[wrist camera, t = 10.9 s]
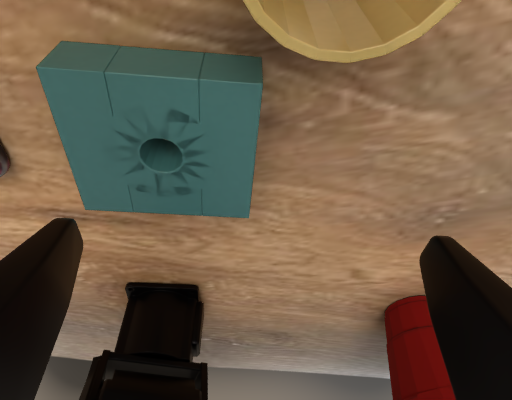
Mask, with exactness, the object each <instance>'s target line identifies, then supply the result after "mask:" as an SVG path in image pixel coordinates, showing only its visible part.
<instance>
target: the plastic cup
mask: <svg viewBox="0 0 512 400" xmlns="http://www.w3.org/2000/svg"><path fill="white" fill-rule="evenodd" d="M385 328H386V337H387V354H388V362H389V371H390V379H391V387H392V395H393V400H456V398H455V395H454V392H453V389H452V386H451V382H450V379H449V376H448V373H447V370H446V366H445V363H444V360H443V357H442V354H441V350H440V347H439V344H438V341H437V338H436V334H435V331H434V328H433V325H432V321H431V318H430V314H429V309H428V304H427V299H426V296H414V297H408V298H405V299H402V300H399V301H396V302H395V303H393V304H392V305H390V306H389V307H388V308H387V310H386V311H385Z"/></svg>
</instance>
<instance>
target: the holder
mask: <svg viewBox="0 0 512 400" xmlns="http://www.w3.org/2000/svg"><path fill="white" fill-rule="evenodd" d="M36 69H37V72H38V75H39V77H40V80H41V83H42V86H43V89H44V92H45V95H46V98H47V101H48V103H49V106H50V109H51V112H52V115H53V118H54V121H55V124H56V126H57V129H58V132H59V135H60V138H61V141H62V144H63V147H64V150H65V152H66V155H67V158H68V161H69V164H70V167H71V170H72V173H73V175H74V178H75V181H76V184H77V187H78V190H79V193H80V196H81V199H82V201H83V204H84V207H85V210H100V211H120V212H141V213H160V214H179V215H199V216H202V215H203V216H217V217H236V218H249V213H250V204H251V194H252V184H253V175H254V165H255V156H256V146H257V137H258V127H259V118H260V108H261V99H262V89H263V75H262V58H261V57H254V56H241V55H229V54H217V53H205V54H204V53H202V52H189V51H177V50H165V49H152V48H140V47H127V46H118V45H105V44H93V43H81V42H68V41H61V42H60V43H59V44H58V45H57V46H56V47H55V48H54V49H53V50H52V51H51V52H50V53H49V54H48V55H47V56H46V57H45V58H44V59H43V60H42V61H41V62H40V63H39V64H38V65H37V66H36ZM165 139H166V140H165ZM167 140H168V141H167Z"/></svg>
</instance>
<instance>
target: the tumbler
mask: <svg viewBox="0 0 512 400" xmlns="http://www.w3.org/2000/svg"><path fill="white" fill-rule="evenodd" d="M460 1H461V0H243V2H244V3H245V5H246V7H247V9H248V10H249V12H250V14H251V16H252V17H253V19H254V20H255V22H256V23H257V24H258V25H259V26H261V27H262V28H263V29H264V30H265V31H266V32H267V33H268V34H269V35H270V36H272V37H273V38H274V39H275V40H276V41H277V42H278V43H279V44H280V45H282V46H283V47H285V48H287V49H290V50H292V51H294V52H297V53H299V54H301V55H303V56H306V57H308V58H310V59H313V60H317V61H330V62H342V63H349V62H350V63H352V62H357V61H361V60H366V59H370V58H375V57H379V56H384V55H386V54H389V53H391V52H393V51H395V50H397V49H398V48H400V47H402V46H404V45H406V44H408V43H410V42H412V41H414V40H416V39H417V38H419V37H421V36H422V35H424V34H425V33H426V32H428V31H429V30H430V29H431V28H432V27H433V26H434V25H436V24H437V23H438V22H439V21H440V20H441V19H442V18H444V17H445V16H446V15H447V14H448V13H449V12H450V11H452V10H453V9H454V8H455V7H456V6H457V4H459V3H460Z"/></svg>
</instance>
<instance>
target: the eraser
mask: <svg viewBox="0 0 512 400" xmlns="http://www.w3.org/2000/svg"><path fill="white" fill-rule="evenodd" d="M9 166H10V163H9V160H8V156H7V154H6V152H5V151H4V149H3V148H2V146H1V145H0V177H1V176H2V175H4V174H5V173H6V172H7V171H8V169H9Z"/></svg>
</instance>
